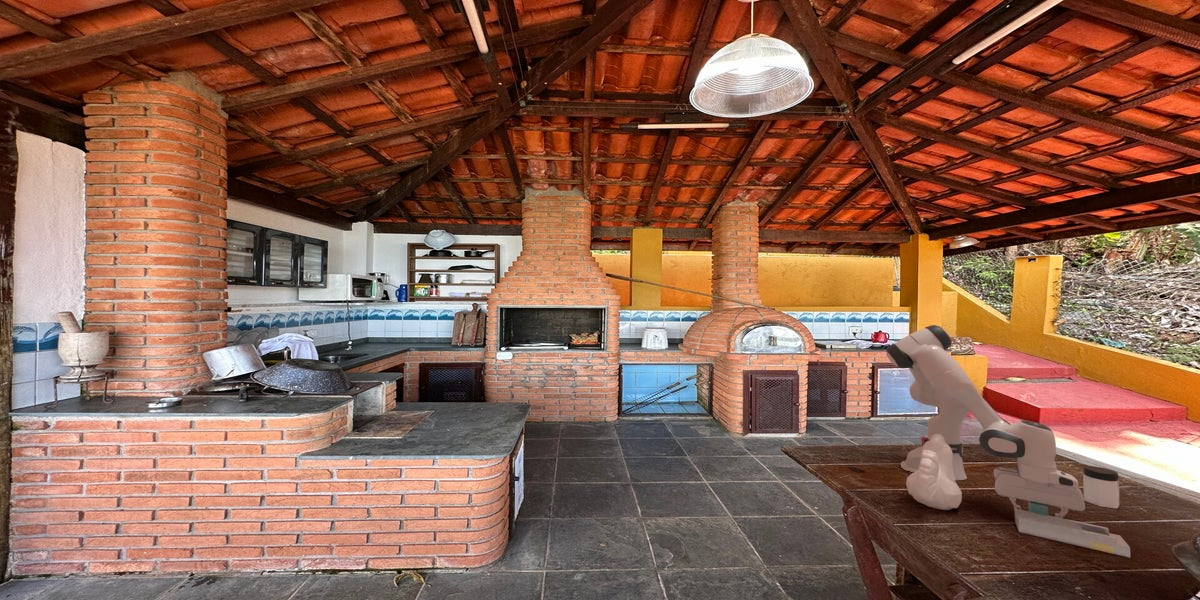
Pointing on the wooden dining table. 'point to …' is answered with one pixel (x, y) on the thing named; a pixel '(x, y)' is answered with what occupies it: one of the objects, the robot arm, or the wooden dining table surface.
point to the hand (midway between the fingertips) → (1038, 515)
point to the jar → (1101, 486)
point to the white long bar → (1071, 532)
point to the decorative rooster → (935, 476)
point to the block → (1038, 507)
